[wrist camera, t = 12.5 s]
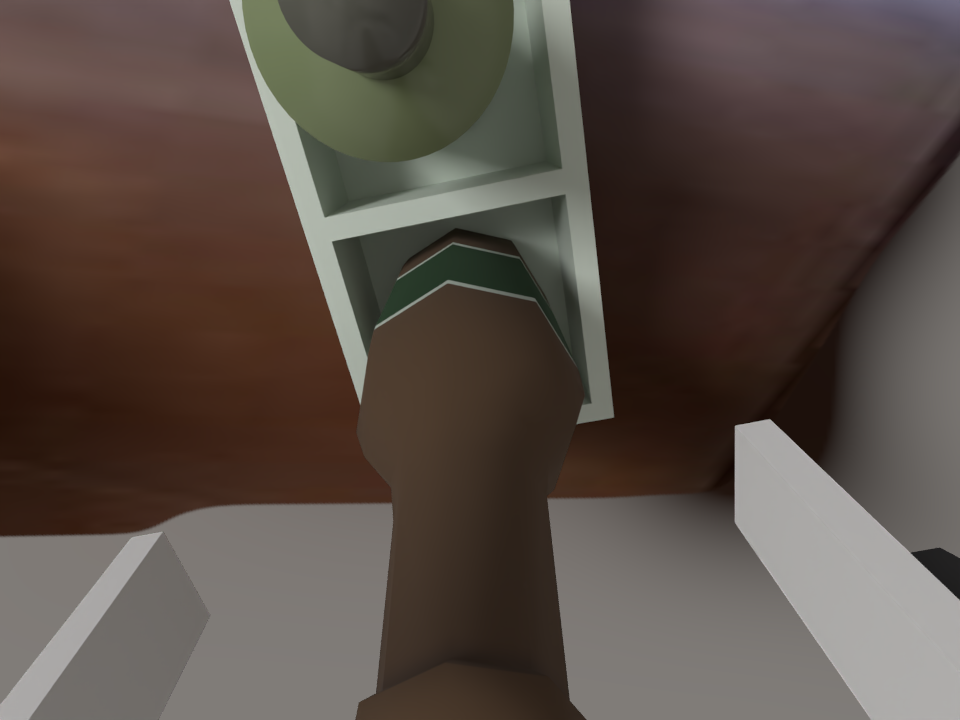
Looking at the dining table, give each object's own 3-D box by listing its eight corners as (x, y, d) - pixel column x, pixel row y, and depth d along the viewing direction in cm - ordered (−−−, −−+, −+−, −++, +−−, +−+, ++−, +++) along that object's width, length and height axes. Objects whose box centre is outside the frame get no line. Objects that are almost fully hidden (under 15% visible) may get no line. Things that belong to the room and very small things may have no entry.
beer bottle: (570, 278, 29) (895, 780, 7) (486, 386, 31) (527, 1005, 9) (449, 192, 27) (363, 502, 5) (369, 313, 29) (77, 879, 7)
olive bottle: (374, 156, 26) (241, 203, 11) (334, 3, 24) (90, -212, 8) (503, 129, 26) (552, 137, 11) (477, -30, 23) (493, -320, 8)
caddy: (392, 404, 33) (377, 459, 27) (257, -54, 23) (195, -105, 18) (589, 368, 32) (614, 417, 27) (530, -119, 23) (548, -192, 17)
